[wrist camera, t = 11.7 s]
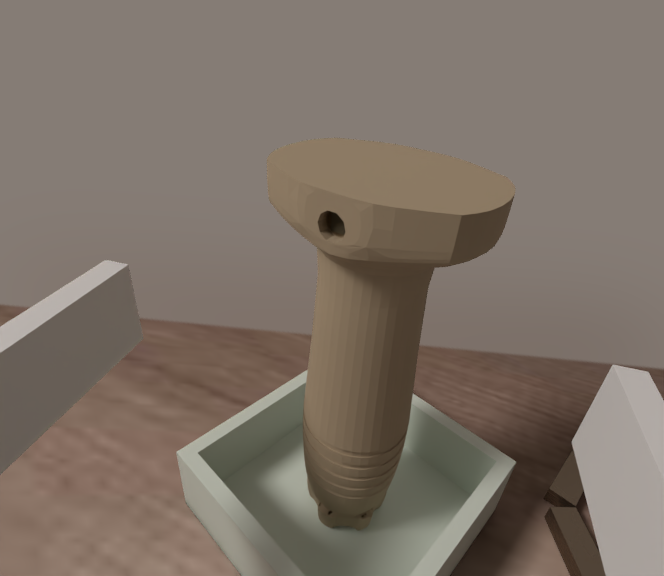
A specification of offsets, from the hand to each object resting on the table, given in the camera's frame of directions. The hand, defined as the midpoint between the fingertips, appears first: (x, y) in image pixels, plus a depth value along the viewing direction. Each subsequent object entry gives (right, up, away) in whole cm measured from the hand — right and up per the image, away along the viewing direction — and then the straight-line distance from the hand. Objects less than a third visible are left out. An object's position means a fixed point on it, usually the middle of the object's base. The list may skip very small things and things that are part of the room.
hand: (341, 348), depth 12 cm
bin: (0, -8, +8) cm, 11 cm away
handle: (0, -8, +7) cm, 11 cm away
